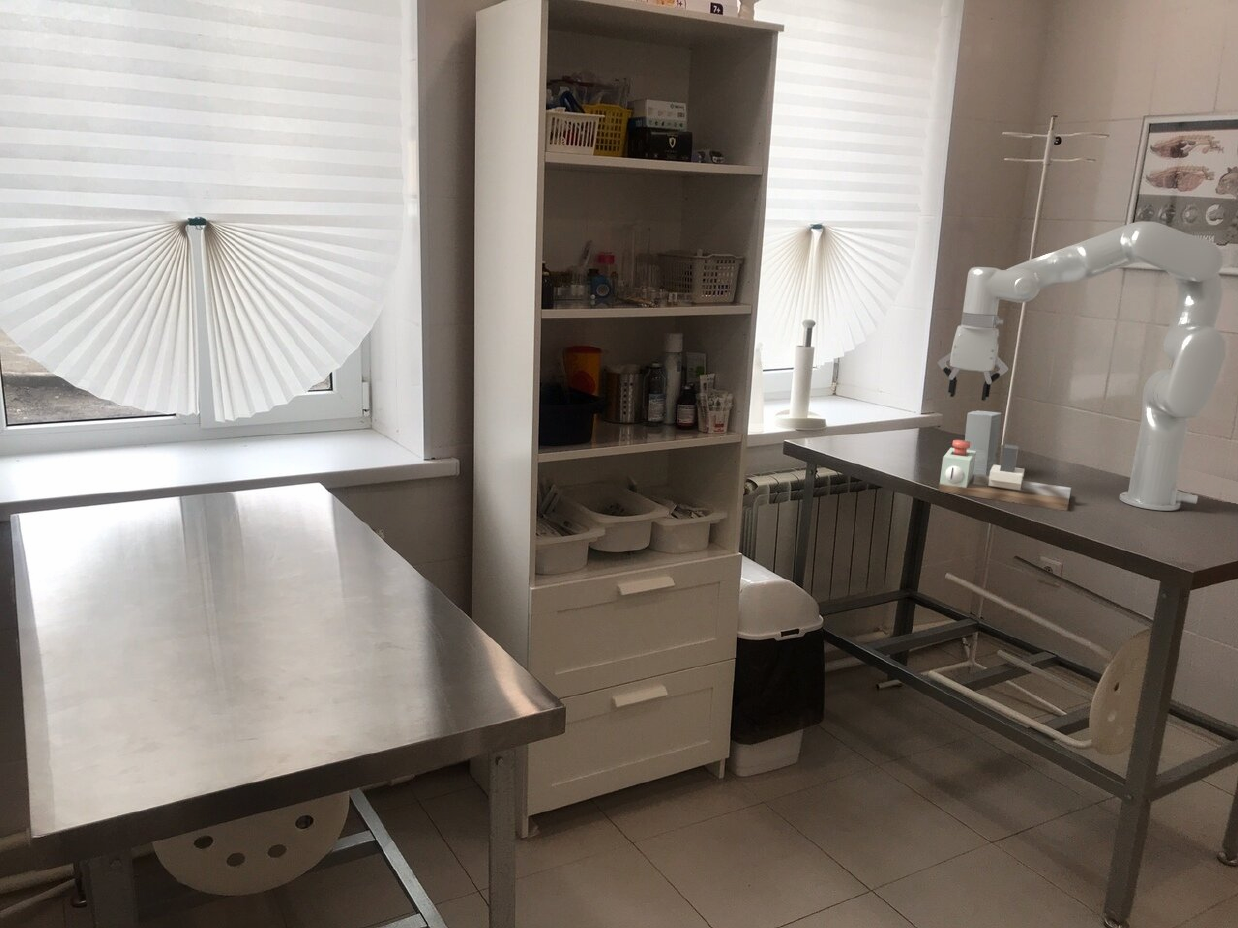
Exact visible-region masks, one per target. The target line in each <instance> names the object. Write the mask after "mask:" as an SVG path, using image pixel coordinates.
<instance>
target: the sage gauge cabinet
mask: <svg viewBox="0 0 1238 928" xmlns="http://www.w3.org/2000/svg"><path fill="white" fill-rule="evenodd" d="M954 449H955V447H950V448H949V449H948V450H947V452H946V453H945V454H944V455H943V456H942V465H941V470H940V471H941V472H940V478H939V479H940V481H939V484H945V485H952V486H958V487H965V488H966V487H967V486H968V484H969V482H970V480H971V479H972V476H974V475H973V469H974V463H975V456H976V451H972V450H967V452H966V456H958V455H954Z"/></svg>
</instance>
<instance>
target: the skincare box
mask: <svg viewBox="0 0 1238 928" xmlns="http://www.w3.org/2000/svg"><path fill="white" fill-rule="evenodd" d="M1002 416H1003V415H1002V412H997V411H989V410H988V411H987V410H979V409H978V410H972V411H969V412H967V416H966V425H965V434H964V435H965V436H964V437H965V438H964V441H969V442H970V448H968V449H967V450H972V451H976V456H975V463H974V469H973V476H975V474H981V475H987V476H989V475H990V470H991V468H992V466H993V465H994V464H995V465H997V458H998V451H999V450H998V448H999V441H1000V430H1001V422H1002Z"/></svg>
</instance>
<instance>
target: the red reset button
mask: <svg viewBox="0 0 1238 928" xmlns="http://www.w3.org/2000/svg"><path fill="white" fill-rule="evenodd" d="M952 448H955V449H954V455H958V456H966V452H967V449H968V448H970V442H969V441H965V439H954V440H952Z"/></svg>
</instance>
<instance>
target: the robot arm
mask: <svg viewBox="0 0 1238 928" xmlns="http://www.w3.org/2000/svg"><path fill="white" fill-rule="evenodd" d="M1138 262H1143V263H1146V264H1149V265H1151V266H1153V267H1156V268H1159V269H1161V270H1163V271H1166V272H1167V273H1168V274H1169V275H1170V276H1171V277H1172V278H1173V280H1174V281H1175V283H1176V287H1177V292H1178V293H1177V300H1176V304H1175V307H1174V308H1175V309H1174V312H1173V315H1172V318H1171V321H1170V324H1169V327H1168V330H1167V332H1166V336H1165V338H1164V341H1163V353H1164V354H1165V357H1166V358H1168V359H1169V361H1172V362H1173V365H1172V367H1171V368H1163V369H1160V370H1157V371H1156V372H1154V373H1152V374H1151V375H1150V376H1149V378H1148V379H1147V380H1146V382H1145V384H1144V387H1143V391H1142V404H1141V417H1140V426H1139V432H1138V435H1137V440H1136V447H1135V453H1134V458H1133V463H1132V469H1131V474H1130V477H1129V478H1130V479H1129V485H1128V490H1127V491H1124V492H1121V493H1120V494H1119V500H1120V501H1121V502H1123V503H1124V504H1127V505H1130V506H1133V507H1137V508H1141V509H1147V510H1153V511H1162V512H1165V511H1166V512H1167V511H1169V512H1170V511H1171V512H1172V511H1177V510H1179V509H1180V508H1181V502H1185V503H1187V504H1188V503H1189V504H1197V502H1198V498H1199V496H1198V495H1195V494H1191V493H1190V492H1183V491H1180V490H1178V486H1177V484H1178V478H1179V473H1180V468H1181V464H1182V459H1183V458H1182V457H1183V453H1184V447H1185V443H1186V438H1187V432H1188V421H1189V419H1190V418H1194V417H1197V415H1199V414H1201V413H1202V412H1203V411H1204V410H1205V409H1206V408H1207V407H1208V405H1209V403H1210V401H1211V398H1212V396H1213V394H1214V391H1215V388H1216V386H1217V382H1218V379H1219V377H1220V375H1221V371H1222V367H1223V365H1224V363H1225V359H1226V352H1227V345H1226V340H1225V338H1224V336H1223V335H1222V333H1221V332H1220V331H1219V330H1218V329H1215V326H1216V323H1217V321H1218V315H1219V312H1220V309H1221V306H1222V301H1223V283H1222V280H1221V276H1220V274H1219V272H1220V271H1221V270H1222V267H1223V265H1224V255H1223V253H1222V251H1221V249H1220V247H1219V246H1218V245H1216V244H1215V243H1213V242H1210V241H1208V240H1206V239H1203V238H1200V237H1197V236H1195V235H1192V234H1189V233H1187V232H1183V231H1180V230H1178V229H1176V228H1173V227H1170V226H1168V225H1166V224H1163V223H1161V222H1160V223H1159V222H1157V221H1136V222H1132V223H1128V224H1125V225H1123V226H1120V227H1118V228H1115V229H1112V230H1109V231H1106V232H1104V233H1102V234H1098V235H1096V236H1094V237H1091V238H1088V239H1086V240H1082V241H1080V242H1077V243H1074V244H1072V245H1071V244H1070V245H1068V246H1065V247H1063V248H1061V249H1058V250H1055V251H1053V252H1049V253H1046V254H1043V255H1041V256H1038V257H1035V258H1032V259H1029V260H1026V261H1024V262H1021V263H1018V264H1015V265H1013V266H1011V267H1008V268H1007V269H1000V268H998V267H988V266H973V267H971V268H970V269H969V271H968V273H967V280H966V288H965V293H964V302H963V308H962V314H961V315H962V316H961V321H960V322H961V324H960V325H958V326H957V328H956V331H955V335H954V338H953V342H952V347H951V351H950V352H949V353H948V354H946V355H945V356H943V357H942V358H941V359H939V360H938V361H937V365H938V366H939V367H940V369H941V370H942V372H943V373H944V374H945V375H946V376H947V377H948V379H949V382H948V383H949V384H948V389H947V392H948V393H949V394H950V396H949V397H951V398H954V397H955V396H956V392H957V391H956V390H957V383H958V379H957V375H958V373H960V370H961V371H962V370H963V371H972V372H980V373H983V376H984V379H985V381H984V383H983V384H982V385H983V387H982V392H981V393H982V394H981V401H982V402H983V401H984V402H985V401H986V399H987V398H989V397H990V392H991V385H992V383H994V382H995V381H996V380H998V379H999V378H1000V377H1001V376H1003V375H1004V374H1005V373H1007V372H1008V371H1009V368H1008V366H1007V365H1006V364H1005V362H1003V360H1001V358H1000V357H999V348H1000V347H999V345H1000V344H999V343H1000V331H999V330H1000V329H998V328H996V327H997V326H999V325H1003V324H1004V318H1000V317H999V316H998V314H999V313H998V311H999V306H1000V305H999V304H1000V300H1002V301H1003V300H1004V301H1008V302H1014V303H1021V304H1022V303H1027V302H1029V301H1031V300H1033V299H1034V298H1035V297H1037V295H1038V294H1039V292H1040V291H1041V290H1043V289H1047V288H1050V287H1053V286H1057V285H1061V284H1066V283H1075V282H1076V283H1078V282H1083V281H1087V280H1092V279H1094V278H1096V277H1099V276H1103V275H1104V274H1108V273H1110V272H1113V271H1115V270H1118V269H1121V268H1124V267H1128V266H1130V265H1132V264H1135V263H1138ZM947 362H949V366H950V367H951V368H953V369H951V368H950V367H949V366H948V365H947ZM997 367H998V368H999V370H997V371H996V372H995V373H994V374H992V372H993V371H994V370H995V369H996V368H997Z"/></svg>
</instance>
